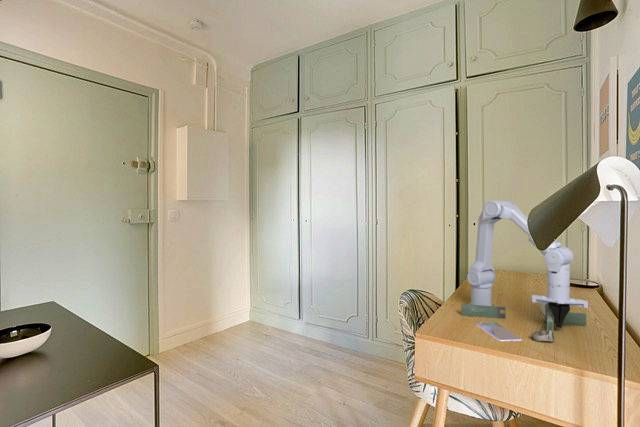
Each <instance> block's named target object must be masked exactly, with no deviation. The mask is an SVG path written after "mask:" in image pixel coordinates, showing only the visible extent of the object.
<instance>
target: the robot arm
mask: <svg viewBox="0 0 640 427" xmlns="http://www.w3.org/2000/svg"><path fill="white" fill-rule="evenodd" d="M502 219H505V220H510V221H512V222H513V223H514V224H515V225H516V226H518V228H520V230H522V231H523V232H524V233H526V235H528V242H530V243H531V244H532V246H534V248H536V246H535V244H534V242H533V240H532V238H531V236H530V234H529V231H528V226H527V219H529V218H528V217H527V216H526V215H525V214H524V213H523V212H522V211H521V210H520V208H519V206H518V205H516V204H515V202H513V201H512V200H509V199H506V200H505V199H503V200H501V199H499V200H497V199H496V200H495V199H490V200H488V201H487V202H485V203H484V204H483V205H482V211H481V212H480V215H479V216H478V223H477V233H476V234H477V237H476V247H475V248H476V249H475V261H474V262H473V263H472V264H471V265H470V266H469V270H468V272H467V275H466V278H467V281H468V284H470V287H471V288H470V302H468V305H484V306H493V305H492V303H493V302H492V300H493V299H492V297H493V296H492V291H493V290H492V287H493V284H494V283H495V281H496V279H497V278H496V273H495V267H494V265H493V264H492V253H493V252H492V251H493V241H494V229H495V224H496V223H497V222H499V221H500V220H502ZM539 252H540V253H541V254H542V255H543V261H544V262H545V263H546V265H547V266H546V267H547V295H537V294H536V295H535V294H531V300H530V301H531V302H532V303H535V304H536V303H540V304H541V303H548V305H549V307H550V309H551V311H552V314H553V321H554V320H555V323H554V326H555V327H556V328H559V329H563V325H564V324H563V321H564V319H565V317H566V315H567V314H568V312H571V311H570V310H571V307H580V308H585V309H589V301H588V300H585V299H578V298H573V297H572V298H571V297H570V296H571V292H570V291H571V290H570V289H571V286H570V285H571V273H570V270H571V269H570V268H571V263H572V262H573V260H574V257H575V256H574V253H573V252H572V250H571V249H570V248H569V247H567V246H562V243H561V242H558V241H557V240H555V241H554V242H553V243H552V244H551V245H550V246H549V247H548V248H547V249H546V250H545V251H539Z"/></svg>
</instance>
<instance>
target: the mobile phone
mask: <svg viewBox="0 0 640 427" xmlns="http://www.w3.org/2000/svg"><path fill="white" fill-rule="evenodd" d="M475 326H477V327H478V328H480V329H481V330H483V331H484V332H485V333H487V334H488V335H489V336H491V337H492V338H494V340H496V341H498V342H522V341H523V339H522V337H520V336H518V335H517V334H515V333H514V332H512V331H511V330H509V329H507V328H506V327H504V326H502V325H500V324H499V323H497V322H495V321H488V322H476V323H475Z"/></svg>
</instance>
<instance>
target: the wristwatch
mask: <svg viewBox="0 0 640 427" xmlns="http://www.w3.org/2000/svg"><path fill="white" fill-rule="evenodd" d="M531 335H532V339H533V340H534V341H537V342H538V341H539V342H540V341H542V342H543V341H547V342H551V343H553V342H554V341H555V337H554V336H555V335H554V331H553V332H552V331H551V330H549V331H547V330H543V329H542V330H536V331H534V332H531Z"/></svg>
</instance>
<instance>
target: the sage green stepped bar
mask: <svg viewBox="0 0 640 427" xmlns="http://www.w3.org/2000/svg"><path fill="white" fill-rule="evenodd" d="M546 316H547V323H546V331H549V330H551V331H552V332H553V333H554V319H553V320H552V312H549V311H546Z"/></svg>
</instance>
